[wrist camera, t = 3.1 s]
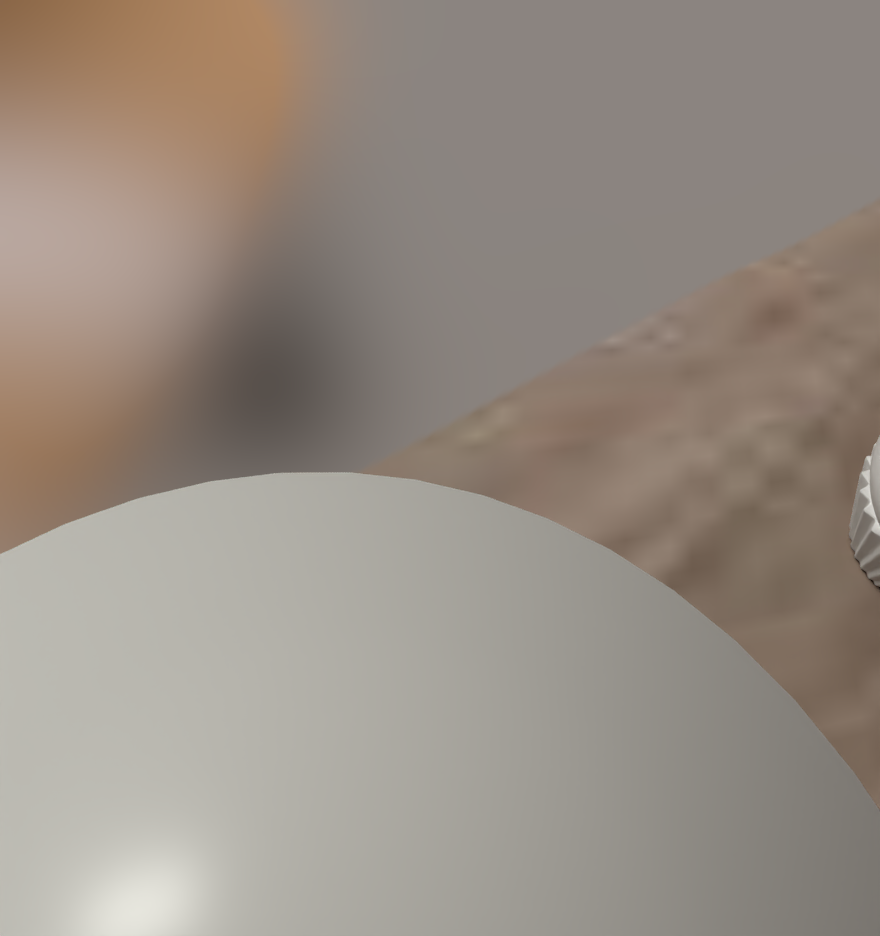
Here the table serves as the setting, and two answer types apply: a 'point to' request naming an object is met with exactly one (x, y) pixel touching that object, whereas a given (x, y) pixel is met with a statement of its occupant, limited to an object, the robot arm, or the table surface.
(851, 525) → the muffin
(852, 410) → the table surface
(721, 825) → the grey cup with lid
